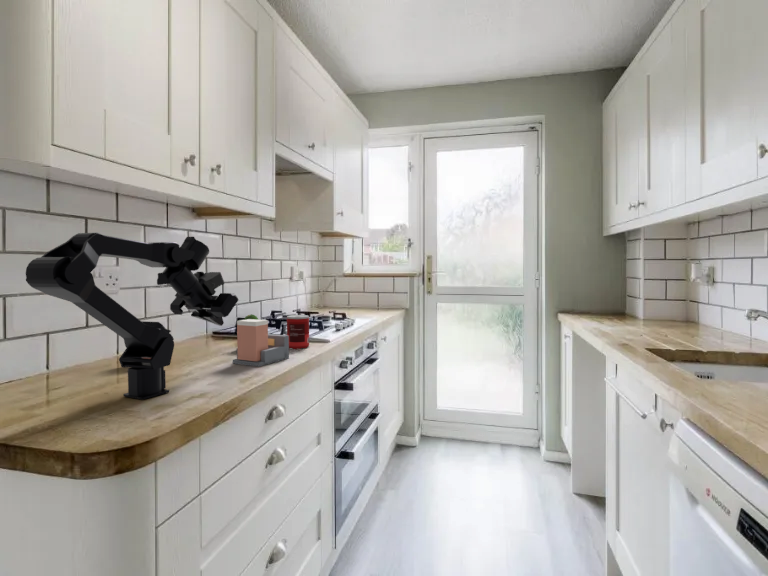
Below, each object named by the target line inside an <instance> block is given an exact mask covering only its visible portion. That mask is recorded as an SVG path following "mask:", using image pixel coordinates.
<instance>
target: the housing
mask: <svg viewBox="0 0 768 576" xmlns="http://www.w3.org/2000/svg"><path fill="white" fill-rule="evenodd" d="M287 359H290V348H289V336H288V335H287V334H286V335H285V334H273V333H268V349H266V350H262V351H261V360H260V361H248V360H239V359H238V348H236V358H235V359H232V364H234V363H235V364H236V365H243V364H244V366H251V367H262V366H266V365H269V364H272V363H278V362H280V361H282V360H287Z"/></svg>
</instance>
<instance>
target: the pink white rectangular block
mask: <svg viewBox="0 0 768 576" xmlns="http://www.w3.org/2000/svg"><path fill="white" fill-rule="evenodd" d="M268 322H269V320H267V319H258V320H256V319H247V320H244V319H239V320H236V326H237V327H236V334H237V336H236V337H237V338H236V339H237V348H238V359H239V360H248V361H260V360H261V351H262V350H266V349H268V334H269V323H268ZM237 348H236V349H237Z"/></svg>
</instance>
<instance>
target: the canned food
mask: <svg viewBox="0 0 768 576" xmlns="http://www.w3.org/2000/svg"><path fill="white" fill-rule="evenodd" d="M286 335H288V336H289V349H290V348H293V349H292V350H302V349H301V348H304V349H307V347H308V348H309V346H310V316H309V315H308V314H307V315H306V314H293V315H287V316H286Z"/></svg>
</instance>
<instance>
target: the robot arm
mask: <svg viewBox="0 0 768 576" xmlns="http://www.w3.org/2000/svg"><path fill="white" fill-rule="evenodd" d="M209 254H210V249H209V246H208V245H206V244H205V243H203V241H200V240H197V239H196V238H195V236H186V237H185V239H184V240H183V242H182V244H181V246H180V244H179V243H177V242H176V241H161V242H159V241H155V242H152V241H150V242H143V241H139V240H133V239H126V238H121V237H115V236H109V235H104V234H101V233H100V232H80V233H79V232H78V233H77V234H74V235H72V236H71V237H70V238H69V239H68V240H67V241H65V242H64V243H62V244H60V245H58V246H56V247H54V248H53V249H50V250H49V251H47V252H46V253H44V254H43V255H42V256H41V257H37V258H34V259H32V260H31V261H30V262H28V264H27V267H26V268H25V269H26V270H25V281H26V283H27V284H28V285H29V286H30V287H31V288H33V289H35V290H37V291H39V292H41V293H43V294H45V295H48V296H52V297H54V298H57V299H61V300H65V301H67V302H70V303H72V304H74V305H75V306H76V307H78V308H79V309H80V310H82V311H84V312H85V313H86V314H88V315H89V316H91V318H93V319H95V320H96V321H98V322H99V323H101V324H102V325H103V326H105V327H106V328H108V329H109V330H111V331H112V332H114V333H115V334H116V335H118V336H120V337H121V338H122V339H123V341H124V346H125V349H124V351H123V353H122V354H121V355H120V357H119V358H118V360H119V364H120V367H121V368H127V390H128V391H127V392H126V393H123V397H125V398H131V399H136V400H147V399H150V398H154V397H157V396H161V395H164V394H168V393H169V392H170V389H167V388H166V387H167V385H166V383H167V382H166V370H165V367H168V366H170V365H171V363H172V362H171V361H172V357H173V353H174V349H175V339H174V336H173V335H172V334H171V332H172V330H170V329H167V328H166V327H165V326H164V325H163V324H162V323H160V321H144V320H140V319H139V318H137V316H135V315H134V314H132V312H130V311H128V310H127V309H126V308H124V306H122V305H121V304H120V303H118V302H117V301H116V300H114V299H113V298H112V297H111V296H110V295H108V294H107V293H106V292H104V291H103V290H101V288H99V287H98V286H97V285H96V283H95V280H94V275H93V273H92V272H93V271H94V270H95V269H96V268H97V266H98V265H97V264H98V261H99V258H100V257H108V258H109V257H110V258H117V259H118V258H119V259H126V260H134V261H136V262H138V263H139V264H140V265H144V266H146V267H150V268H164V270H163V271H162V272H158V273H157V280H156V285H157V286H162V285H163V286H164V285H169V286H170V287H171V288H172V289H173V290H174V291H175V292H176V294H175V295H174V296H175V298H174V299H173V300H172V302H171V303H170V304H169V305H170V306H169V309H170V311H171V312H172V313H173V315H181V316H182V315H183V314H184V310H183V309H182V308H183V307H185V308H186V309H187V311H190V313H191V314H190V316H191V317H193V318H197V319H199V320H202V321H205V322H209V323H211V324H214V325H216V326H223V325H224V324H225V323H224V319H223V318H227V317H228V316H229V315H230V313H231V312H232V310H233V309H234V307H235V305H237V303H238V302H239V298H238V296H237V295H236V294H235V292H220V293H219V294H218V295H215V294H216V292H217V291H216V289H217V288H219V287H221V286H223V285H225V280H224V278H223V276H222V273H221V272H220V271H211V272H210V271H209V272H205V271H199V269H200V267H202V264H203V263H204V261H205V260H206V258H207V257H208V255H209ZM194 271H195V273H194ZM204 272H205V273H204ZM142 357H143V358H142ZM146 358H151V359H146Z"/></svg>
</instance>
